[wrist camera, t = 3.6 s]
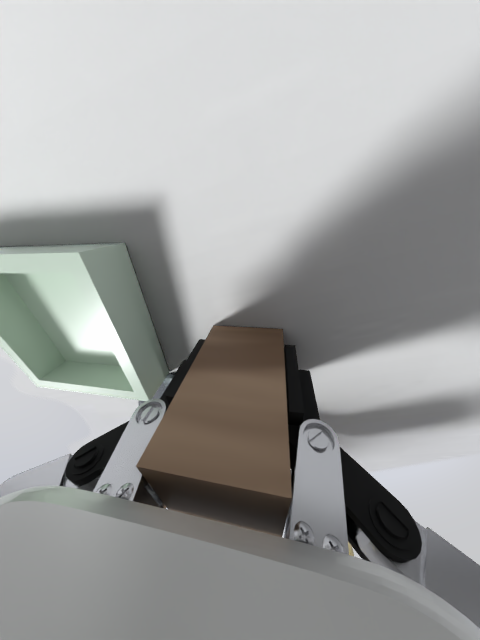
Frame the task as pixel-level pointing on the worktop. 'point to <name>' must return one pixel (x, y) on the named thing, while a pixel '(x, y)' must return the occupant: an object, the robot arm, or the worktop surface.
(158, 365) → the tray
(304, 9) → the worktop surface
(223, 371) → the block
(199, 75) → the worktop surface
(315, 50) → the worktop surface
